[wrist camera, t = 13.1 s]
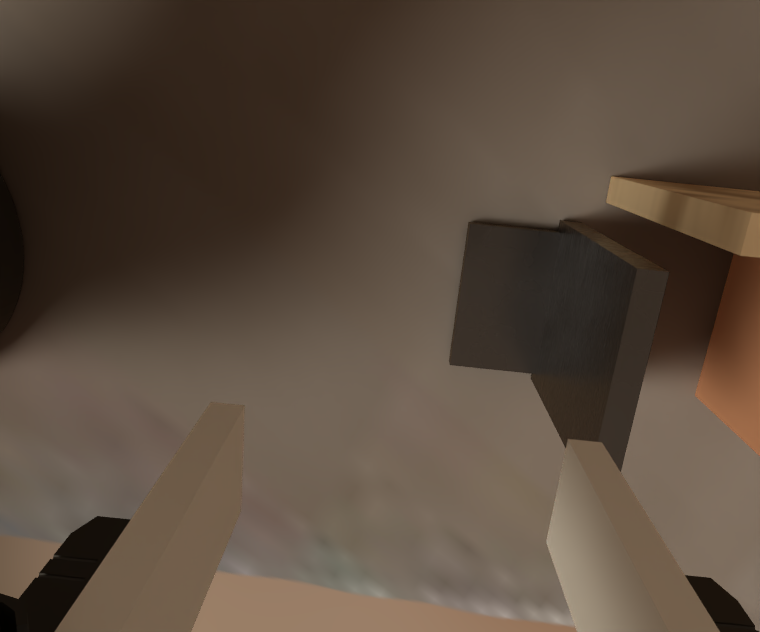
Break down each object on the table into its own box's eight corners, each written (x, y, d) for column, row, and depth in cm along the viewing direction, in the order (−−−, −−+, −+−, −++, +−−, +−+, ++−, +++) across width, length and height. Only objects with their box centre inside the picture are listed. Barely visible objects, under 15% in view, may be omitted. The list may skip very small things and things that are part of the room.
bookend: (447, 369, 31) (467, 478, 22) (470, 210, 29) (503, 254, 19) (550, 380, 31) (615, 493, 22) (581, 222, 29) (669, 272, 19)
